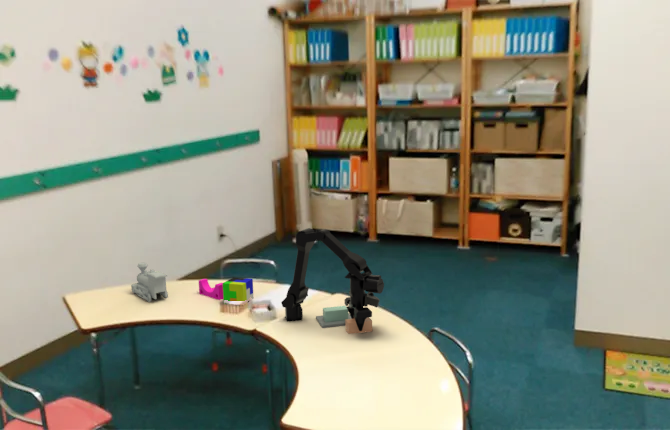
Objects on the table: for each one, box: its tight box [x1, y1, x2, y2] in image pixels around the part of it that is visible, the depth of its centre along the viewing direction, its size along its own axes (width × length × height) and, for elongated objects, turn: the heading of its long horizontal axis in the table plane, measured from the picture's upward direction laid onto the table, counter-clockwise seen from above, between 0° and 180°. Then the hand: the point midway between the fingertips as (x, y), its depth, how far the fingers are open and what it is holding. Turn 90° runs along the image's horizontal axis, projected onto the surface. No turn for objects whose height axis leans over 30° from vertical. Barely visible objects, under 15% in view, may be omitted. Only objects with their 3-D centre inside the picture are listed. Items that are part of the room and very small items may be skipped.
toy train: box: [130, 262, 169, 303], centre depth 297 cm, size 11×28×15 cm, turn 40°
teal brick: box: [322, 305, 349, 322], centre depth 258 cm, size 10×5×4 cm, turn 104°
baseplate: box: [315, 312, 352, 329], centre depth 258 cm, size 14×12×1 cm
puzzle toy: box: [222, 276, 255, 301], centre depth 286 cm, size 10×10×10 cm
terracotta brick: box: [345, 317, 373, 335], centre depth 247 cm, size 10×5×4 cm, turn 104°
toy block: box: [198, 278, 224, 301], centre depth 296 cm, size 15×6×8 cm, turn 50°
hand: (358, 327), depth 247 cm, fingers open, 6 cm apart
